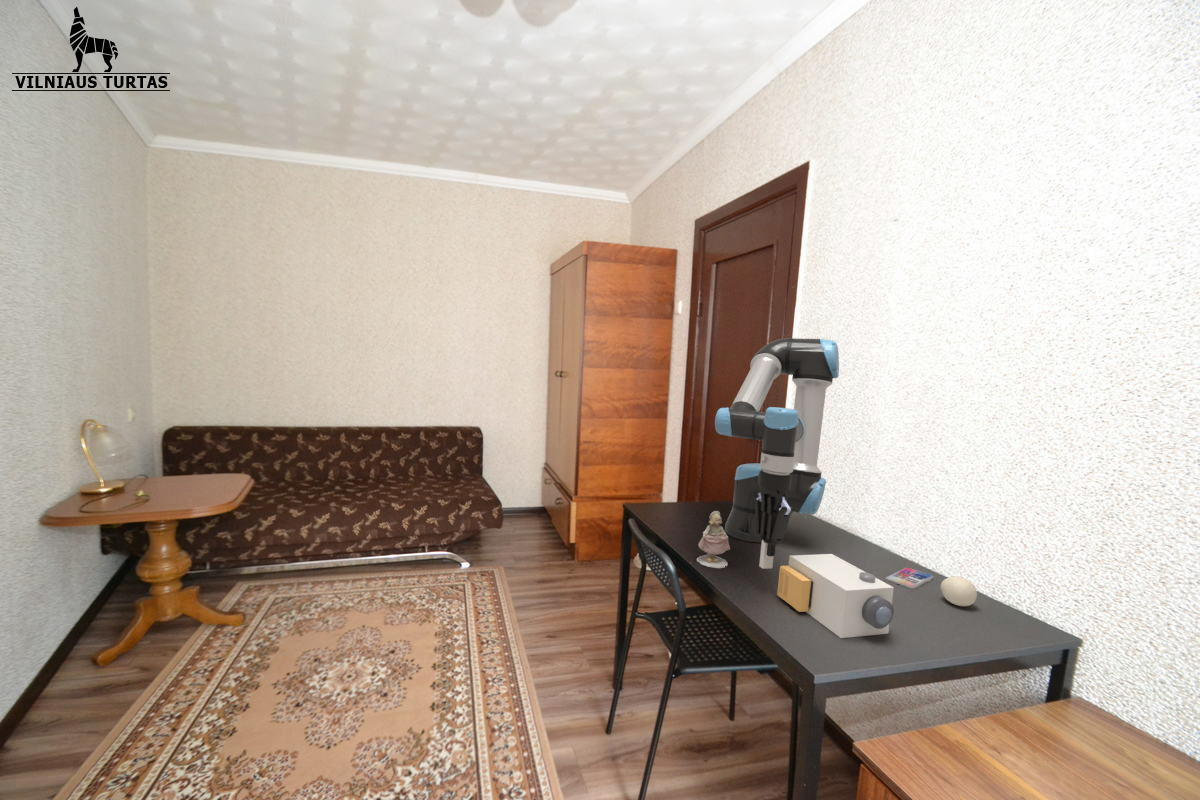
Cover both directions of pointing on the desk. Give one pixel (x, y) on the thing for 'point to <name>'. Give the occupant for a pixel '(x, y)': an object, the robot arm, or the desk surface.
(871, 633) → the block
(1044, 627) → the desk surface
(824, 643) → the desk surface
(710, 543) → the figurine
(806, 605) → the side door
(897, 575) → the smartphone
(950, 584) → the cream round ball
